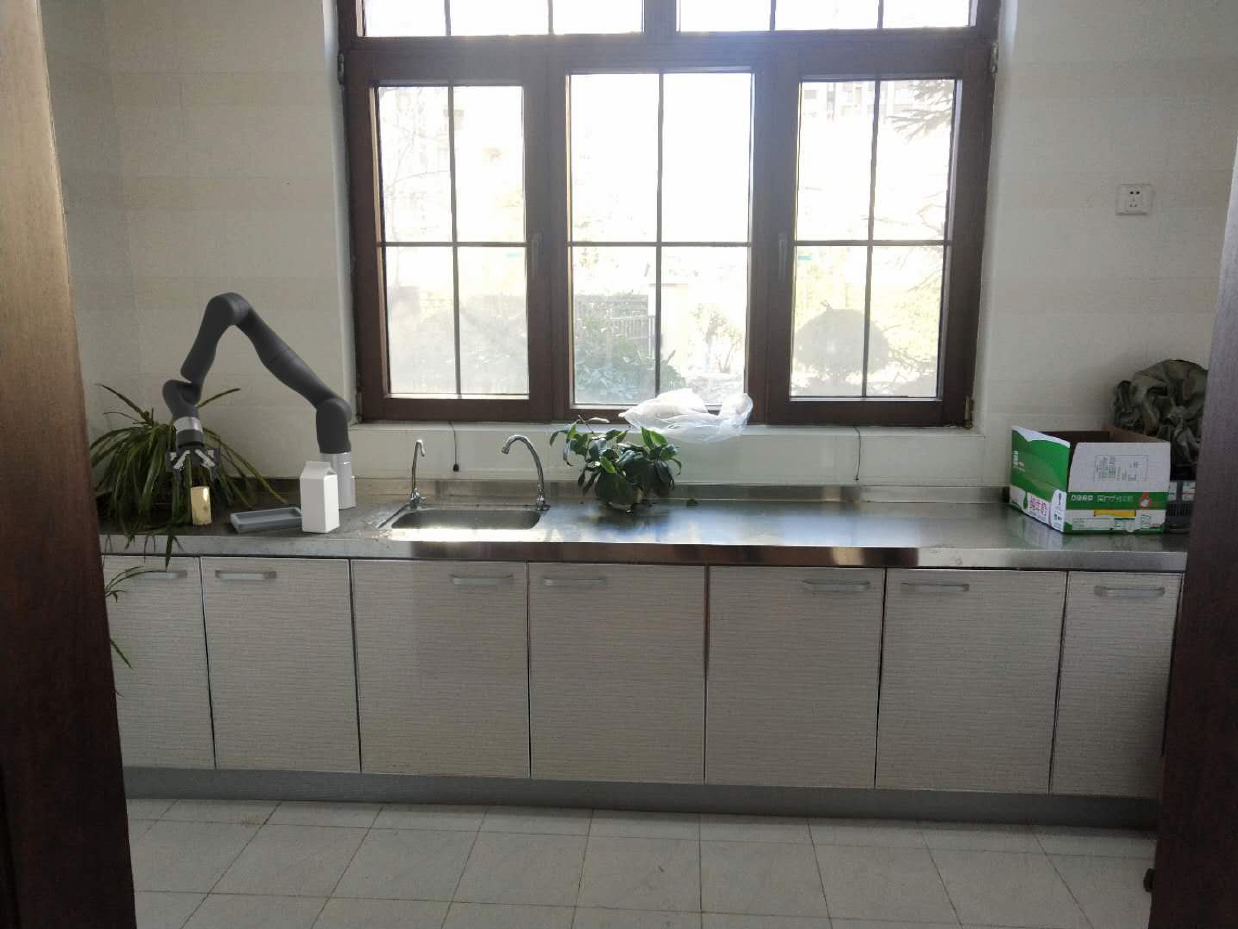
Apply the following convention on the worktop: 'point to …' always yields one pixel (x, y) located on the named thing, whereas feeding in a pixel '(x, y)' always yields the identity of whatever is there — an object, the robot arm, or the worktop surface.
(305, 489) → the milk carton
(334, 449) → the robot arm
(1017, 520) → the worktop surface
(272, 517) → the tray
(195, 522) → the brass bushing
